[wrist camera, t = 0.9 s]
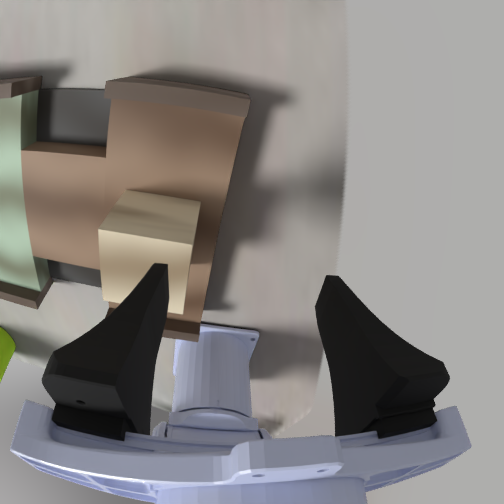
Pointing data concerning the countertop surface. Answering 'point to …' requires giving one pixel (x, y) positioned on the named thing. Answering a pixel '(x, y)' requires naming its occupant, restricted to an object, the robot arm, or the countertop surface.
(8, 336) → the soap dispenser
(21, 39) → the countertop surface
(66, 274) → the track
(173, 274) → the maple block
